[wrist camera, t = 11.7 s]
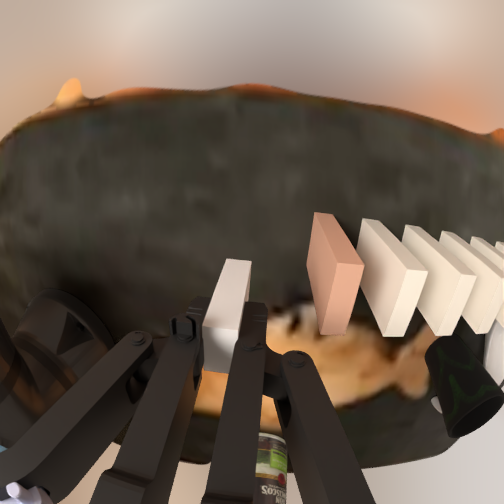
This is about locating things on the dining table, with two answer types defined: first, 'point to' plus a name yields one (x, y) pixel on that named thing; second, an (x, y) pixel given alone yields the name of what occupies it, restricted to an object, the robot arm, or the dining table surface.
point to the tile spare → (332, 274)
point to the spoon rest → (490, 356)
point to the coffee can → (270, 470)
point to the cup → (462, 386)
